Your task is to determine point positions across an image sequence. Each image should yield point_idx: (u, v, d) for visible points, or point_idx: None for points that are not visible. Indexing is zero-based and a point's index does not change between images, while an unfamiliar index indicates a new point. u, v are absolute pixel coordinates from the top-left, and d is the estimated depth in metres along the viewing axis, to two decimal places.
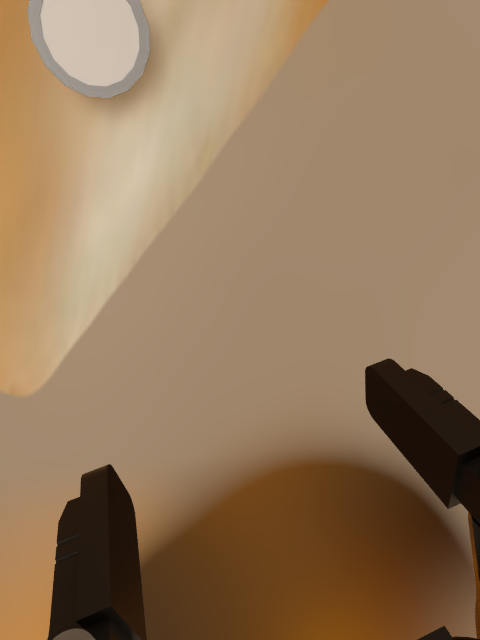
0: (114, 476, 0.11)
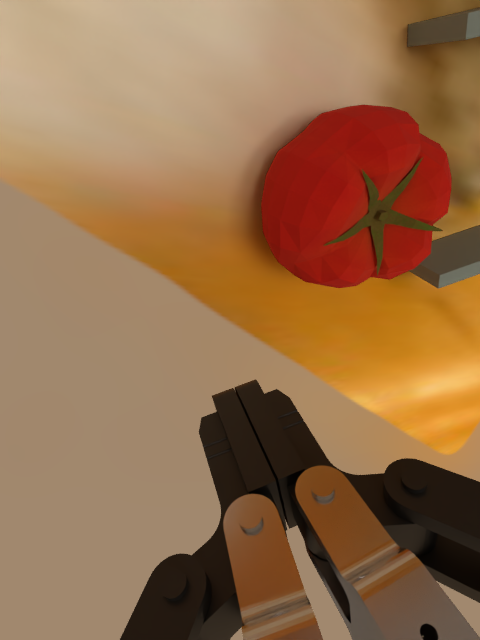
0: None
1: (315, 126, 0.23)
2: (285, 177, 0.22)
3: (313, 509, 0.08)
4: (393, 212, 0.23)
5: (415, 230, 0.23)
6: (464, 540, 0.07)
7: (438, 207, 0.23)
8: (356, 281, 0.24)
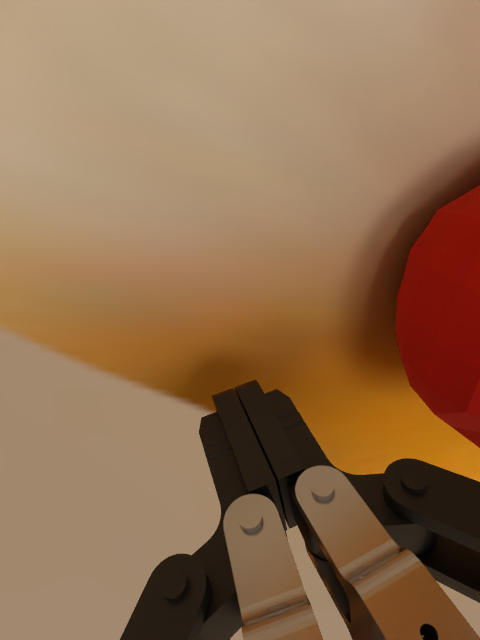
0: None
1: None
2: None
3: (313, 509, 0.08)
4: None
5: None
6: (464, 540, 0.07)
7: None
8: None
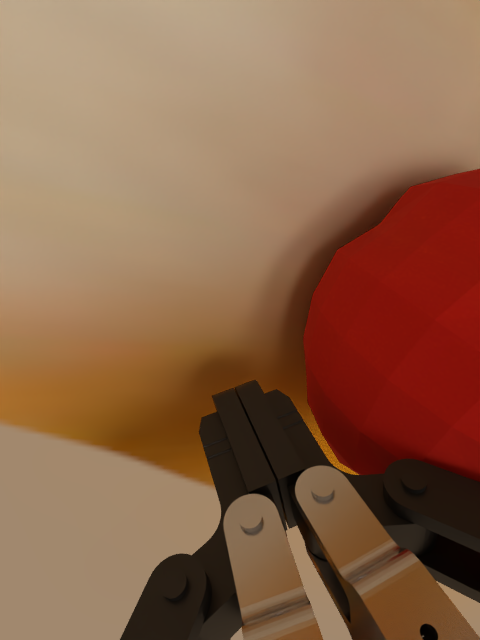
0: None
1: (436, 219, 0.10)
2: (372, 340, 0.10)
3: (313, 509, 0.08)
4: None
5: None
6: (464, 540, 0.07)
7: None
8: None
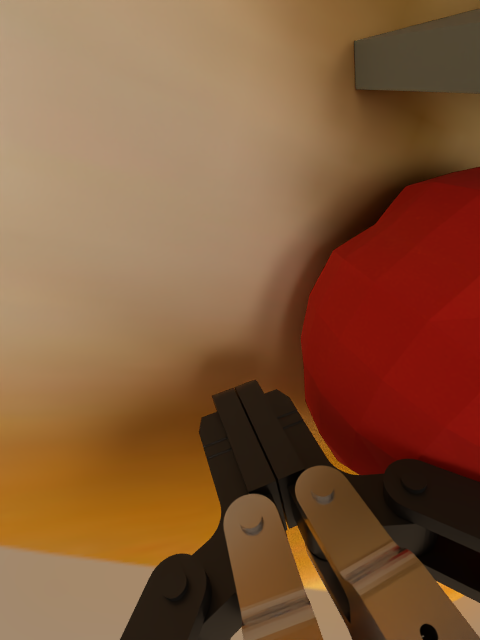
0: None
1: (430, 219, 0.10)
2: (367, 340, 0.10)
3: (313, 509, 0.08)
4: None
5: None
6: (464, 540, 0.07)
7: None
8: None
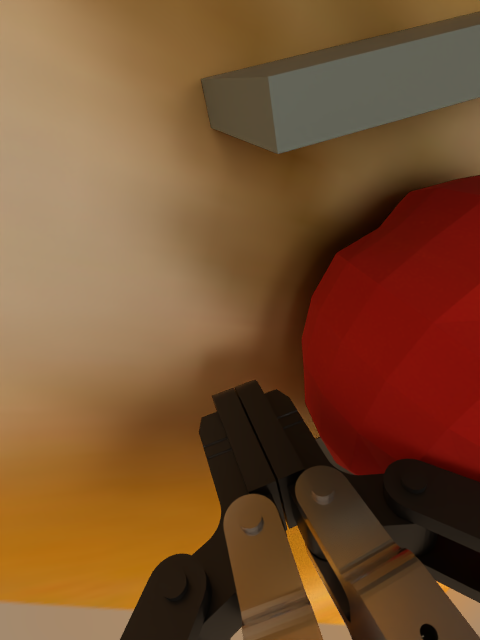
0: None
1: (435, 224, 0.10)
2: (371, 342, 0.10)
3: (313, 509, 0.08)
4: None
5: None
6: (464, 540, 0.07)
7: None
8: None
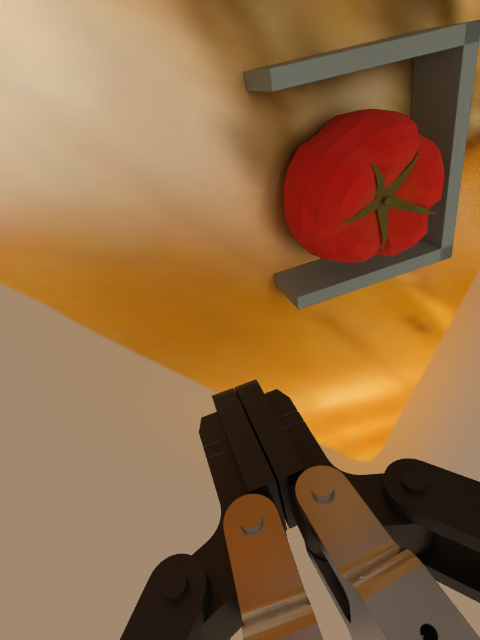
0: None
1: (331, 126, 0.28)
2: (307, 168, 0.27)
3: (313, 509, 0.08)
4: (396, 198, 0.28)
5: (414, 214, 0.28)
6: (464, 540, 0.07)
7: (433, 193, 0.27)
8: (365, 256, 0.28)
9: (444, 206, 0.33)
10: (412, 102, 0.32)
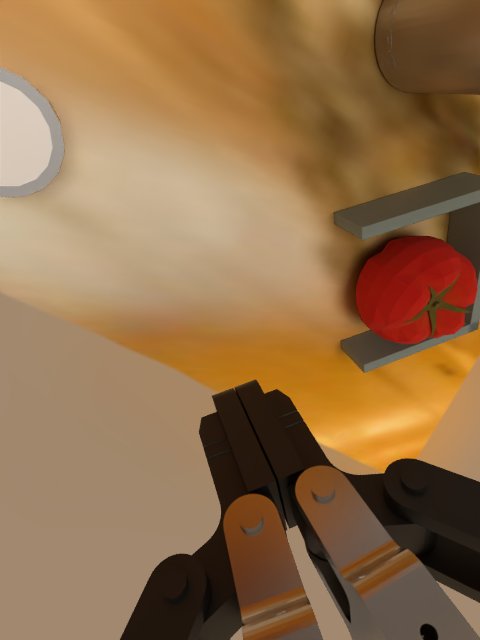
0: None
1: (396, 251, 0.39)
2: (380, 282, 0.38)
3: (313, 509, 0.08)
4: (442, 301, 0.39)
5: (455, 312, 0.39)
6: (464, 540, 0.07)
7: (469, 300, 0.38)
8: (419, 341, 0.40)
9: None
10: (450, 219, 0.43)
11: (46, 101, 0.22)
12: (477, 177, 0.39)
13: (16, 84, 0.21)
